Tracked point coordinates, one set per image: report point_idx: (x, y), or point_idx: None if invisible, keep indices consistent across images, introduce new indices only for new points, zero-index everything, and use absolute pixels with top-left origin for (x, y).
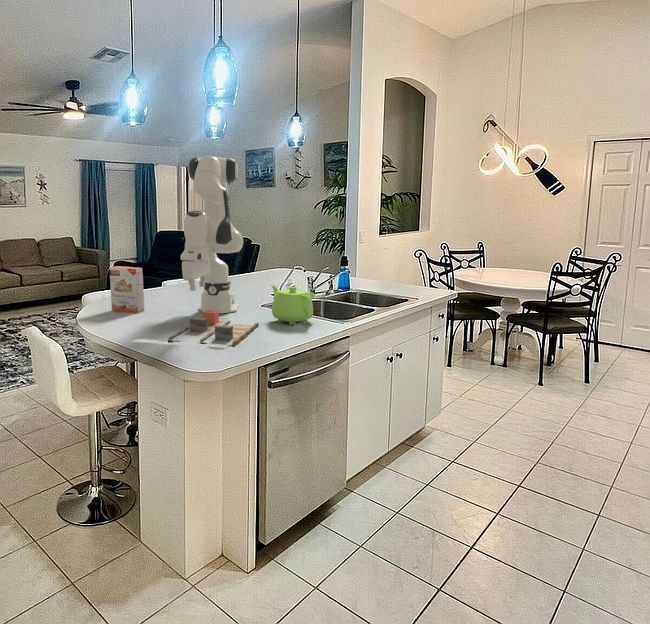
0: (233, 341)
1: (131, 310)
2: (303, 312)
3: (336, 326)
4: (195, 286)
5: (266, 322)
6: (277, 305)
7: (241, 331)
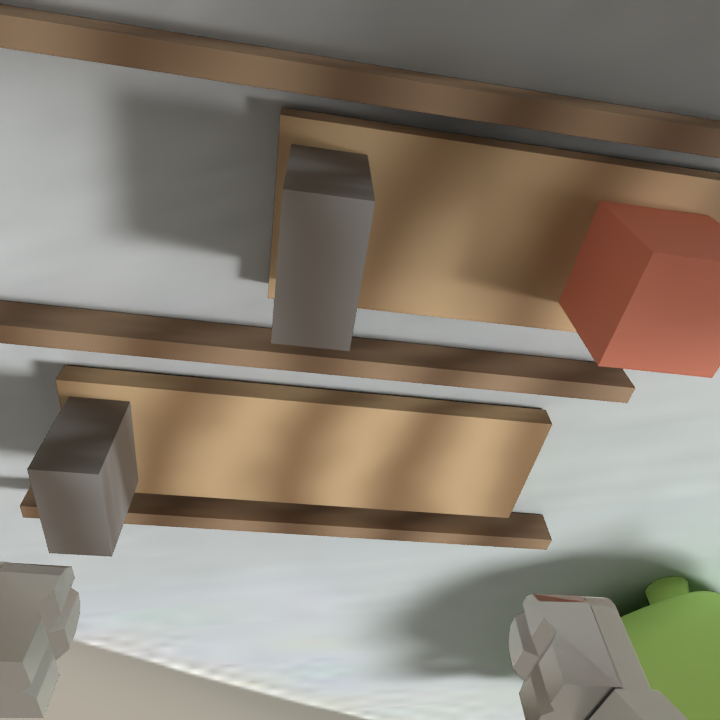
0: (24, 509)
1: None
2: None
3: None
4: (16, 706)
5: (661, 541)
6: (669, 697)
7: (339, 493)
